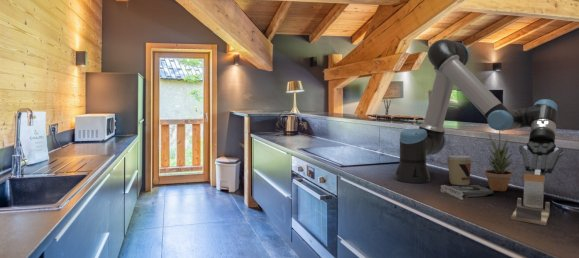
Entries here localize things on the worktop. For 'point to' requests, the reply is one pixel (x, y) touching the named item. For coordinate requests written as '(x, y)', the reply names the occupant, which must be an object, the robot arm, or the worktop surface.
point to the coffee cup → (459, 169)
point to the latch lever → (533, 191)
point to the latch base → (531, 214)
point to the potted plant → (499, 168)
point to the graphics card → (465, 191)
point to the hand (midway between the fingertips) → (536, 187)
